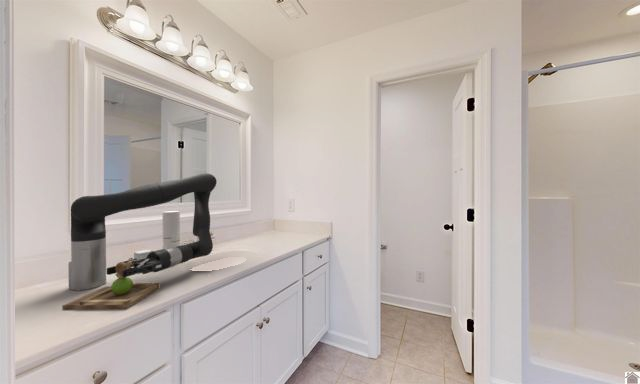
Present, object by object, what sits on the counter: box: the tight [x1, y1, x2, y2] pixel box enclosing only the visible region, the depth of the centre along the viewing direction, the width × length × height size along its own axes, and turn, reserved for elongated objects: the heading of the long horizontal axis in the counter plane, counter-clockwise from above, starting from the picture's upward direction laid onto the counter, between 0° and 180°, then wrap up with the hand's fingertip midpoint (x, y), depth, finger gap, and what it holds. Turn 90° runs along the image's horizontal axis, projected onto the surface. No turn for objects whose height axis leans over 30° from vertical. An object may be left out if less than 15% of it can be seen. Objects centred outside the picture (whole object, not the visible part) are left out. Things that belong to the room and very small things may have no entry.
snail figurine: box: [111, 257, 134, 295], centre depth 77 cm, size 5×6×12 cm
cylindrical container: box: [162, 210, 181, 249], centre depth 116 cm, size 7×7×25 cm
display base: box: [62, 282, 160, 310], centre depth 77 cm, size 19×14×2 cm
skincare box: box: [133, 248, 154, 260], centre depth 110 cm, size 6×6×7 cm
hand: (115, 272), depth 75 cm, fingers open, 7 cm apart
